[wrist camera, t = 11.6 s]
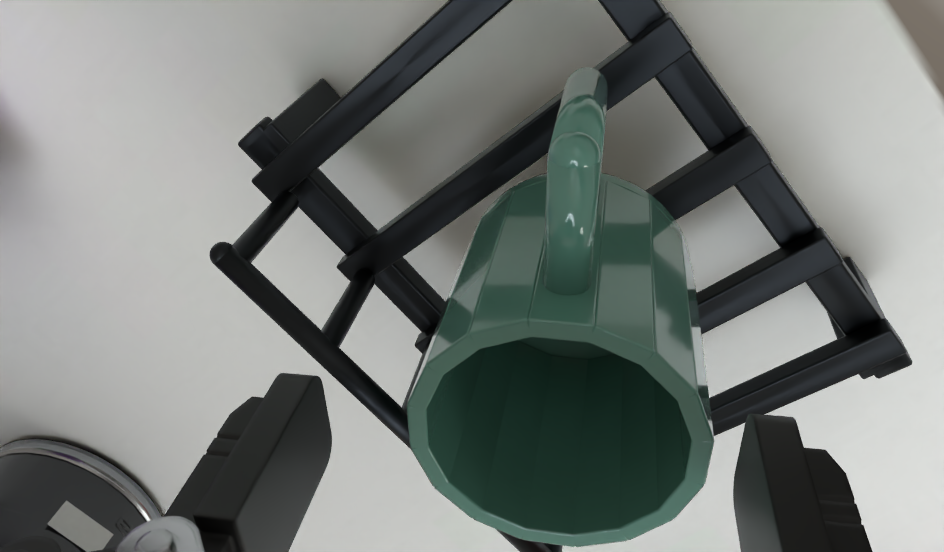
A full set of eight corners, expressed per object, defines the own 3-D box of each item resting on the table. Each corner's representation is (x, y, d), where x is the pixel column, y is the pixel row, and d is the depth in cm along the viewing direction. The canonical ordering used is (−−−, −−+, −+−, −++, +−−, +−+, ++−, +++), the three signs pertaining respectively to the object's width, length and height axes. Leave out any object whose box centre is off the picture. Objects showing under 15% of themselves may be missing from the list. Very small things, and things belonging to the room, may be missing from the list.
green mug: (674, 367, 21) (688, 564, 15) (470, 347, 22) (415, 525, 16) (726, 51, 16) (772, 174, 11) (464, 43, 17) (384, 151, 12)
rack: (289, 99, 24) (147, 219, 17) (566, -164, 19) (525, -148, 12) (591, 422, 28) (577, 619, 22) (878, 283, 23) (980, 484, 16)
